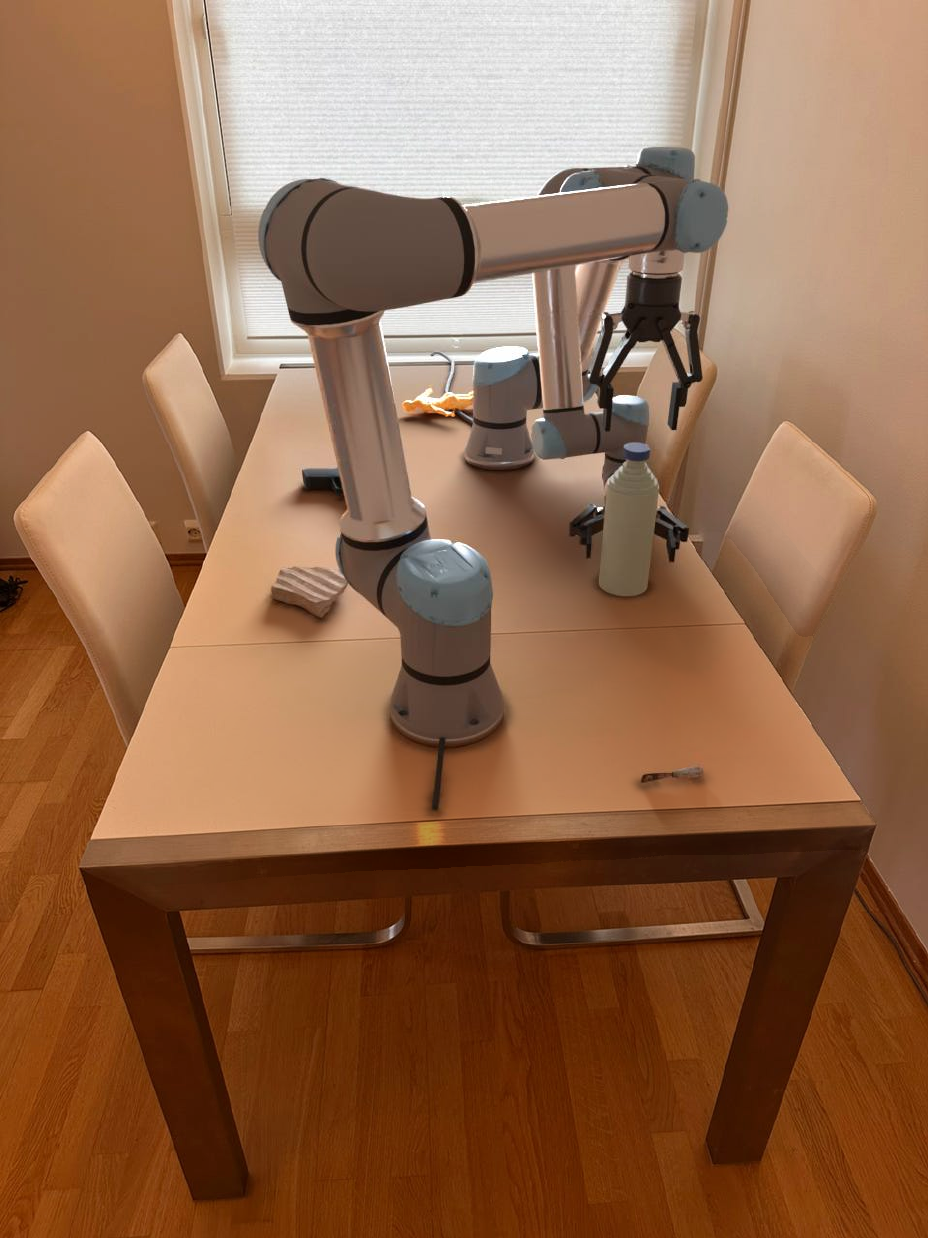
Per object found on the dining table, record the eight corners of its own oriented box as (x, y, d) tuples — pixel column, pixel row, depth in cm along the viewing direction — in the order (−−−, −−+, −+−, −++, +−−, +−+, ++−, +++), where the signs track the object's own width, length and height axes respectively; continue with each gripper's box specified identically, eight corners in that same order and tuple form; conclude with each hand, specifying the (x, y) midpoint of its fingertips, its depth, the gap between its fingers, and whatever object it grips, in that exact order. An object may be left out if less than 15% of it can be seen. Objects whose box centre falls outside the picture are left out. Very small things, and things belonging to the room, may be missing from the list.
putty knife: (703, 777, 109) (705, 767, 109) (642, 788, 108) (644, 777, 107) (700, 772, 110) (702, 762, 109) (639, 782, 109) (640, 771, 108)
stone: (359, 584, 150) (358, 571, 149) (323, 619, 141) (322, 605, 140) (294, 571, 155) (292, 558, 153) (254, 604, 145) (252, 590, 144)
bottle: (608, 568, 155) (621, 436, 142) (653, 579, 152) (670, 445, 139) (591, 589, 149) (602, 453, 136) (637, 601, 146) (653, 463, 133)
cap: (628, 449, 141) (629, 440, 140) (652, 454, 139) (654, 445, 138) (619, 458, 138) (619, 449, 137) (644, 463, 136) (645, 453, 135)
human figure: (395, 413, 223) (394, 398, 221) (438, 390, 237) (438, 375, 235) (462, 429, 215) (462, 413, 213) (502, 404, 229) (503, 388, 227)
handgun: (311, 501, 172) (373, 494, 174) (301, 466, 186) (358, 460, 188) (313, 516, 173) (374, 509, 176) (302, 480, 187) (359, 474, 190)
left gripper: (580, 279, 120) (570, 437, 132) (741, 277, 121) (717, 434, 133) (572, 268, 127) (563, 420, 139) (725, 266, 128) (704, 417, 139)
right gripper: (691, 520, 165) (704, 576, 147) (555, 515, 168) (553, 569, 150) (696, 483, 161) (711, 535, 143) (557, 477, 164) (555, 529, 146)
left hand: (639, 427), depth 136 cm, fingers open, 9 cm apart
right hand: (630, 553), depth 146 cm, fingers open, 13 cm apart
